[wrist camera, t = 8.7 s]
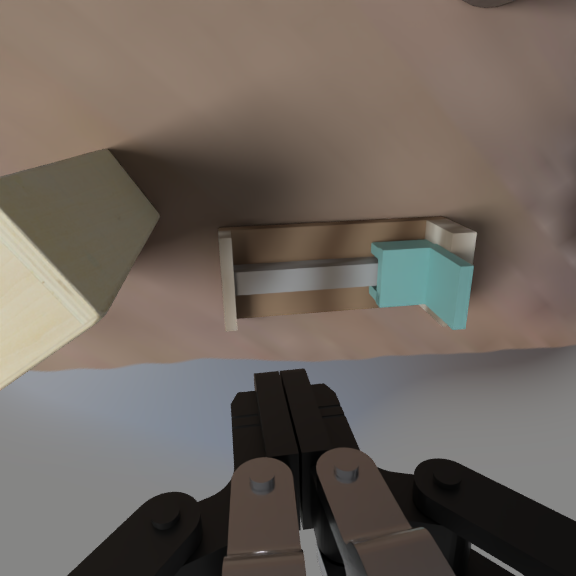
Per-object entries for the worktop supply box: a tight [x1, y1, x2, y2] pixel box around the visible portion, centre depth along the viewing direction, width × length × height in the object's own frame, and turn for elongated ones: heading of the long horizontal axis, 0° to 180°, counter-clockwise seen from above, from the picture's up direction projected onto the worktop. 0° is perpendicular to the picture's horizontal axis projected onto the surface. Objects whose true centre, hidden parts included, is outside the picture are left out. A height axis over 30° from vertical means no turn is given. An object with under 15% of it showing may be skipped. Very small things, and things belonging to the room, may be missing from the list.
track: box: [218, 216, 477, 332], centre depth 39 cm, size 20×8×6 cm, turn 91°
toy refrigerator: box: [0, 149, 160, 391], centre depth 27 cm, size 8×7×21 cm
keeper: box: [369, 239, 474, 330], centre depth 37 cm, size 5×5×8 cm
